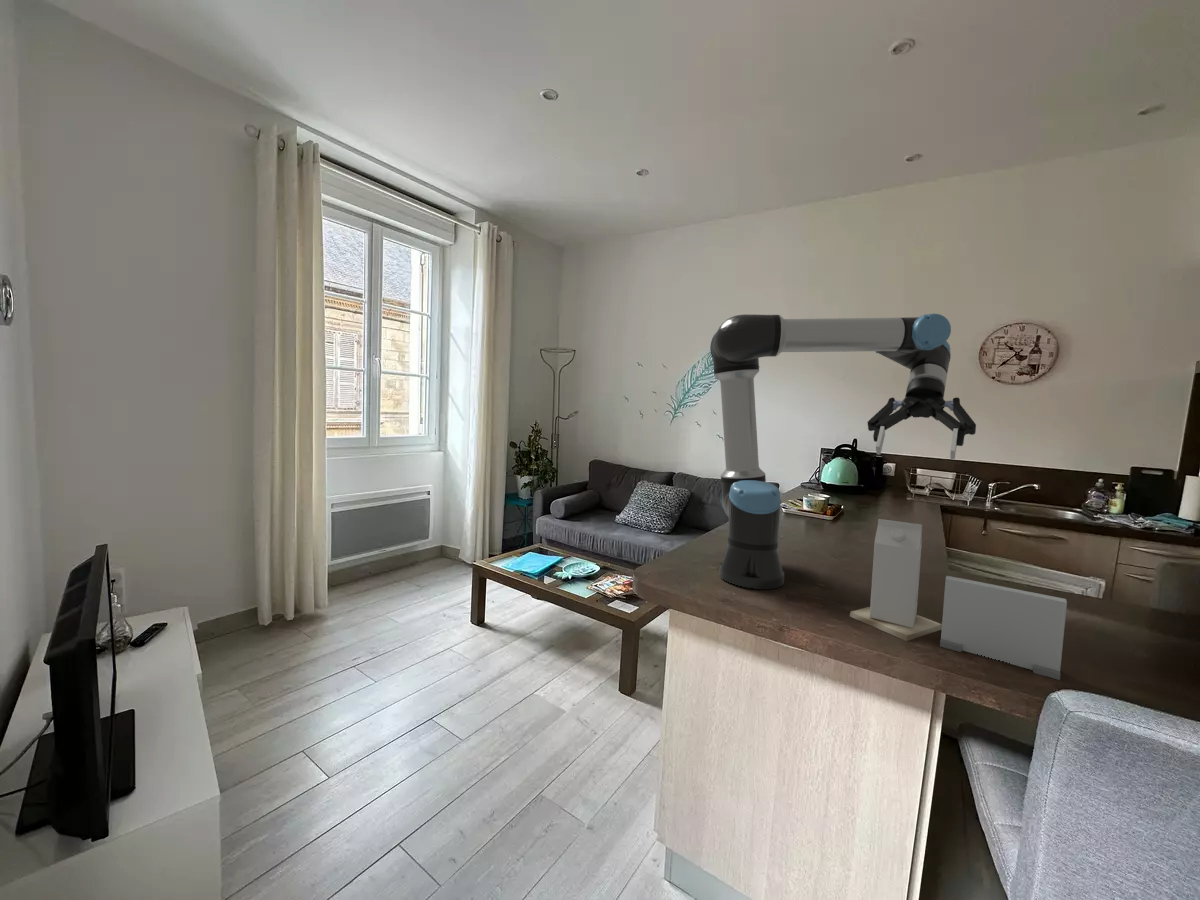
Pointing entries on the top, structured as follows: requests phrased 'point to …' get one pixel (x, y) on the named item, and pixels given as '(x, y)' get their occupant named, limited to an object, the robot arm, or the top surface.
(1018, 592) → the grey screen
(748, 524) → the robot arm
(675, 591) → the top surface
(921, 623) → the birch board
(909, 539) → the milk carton
